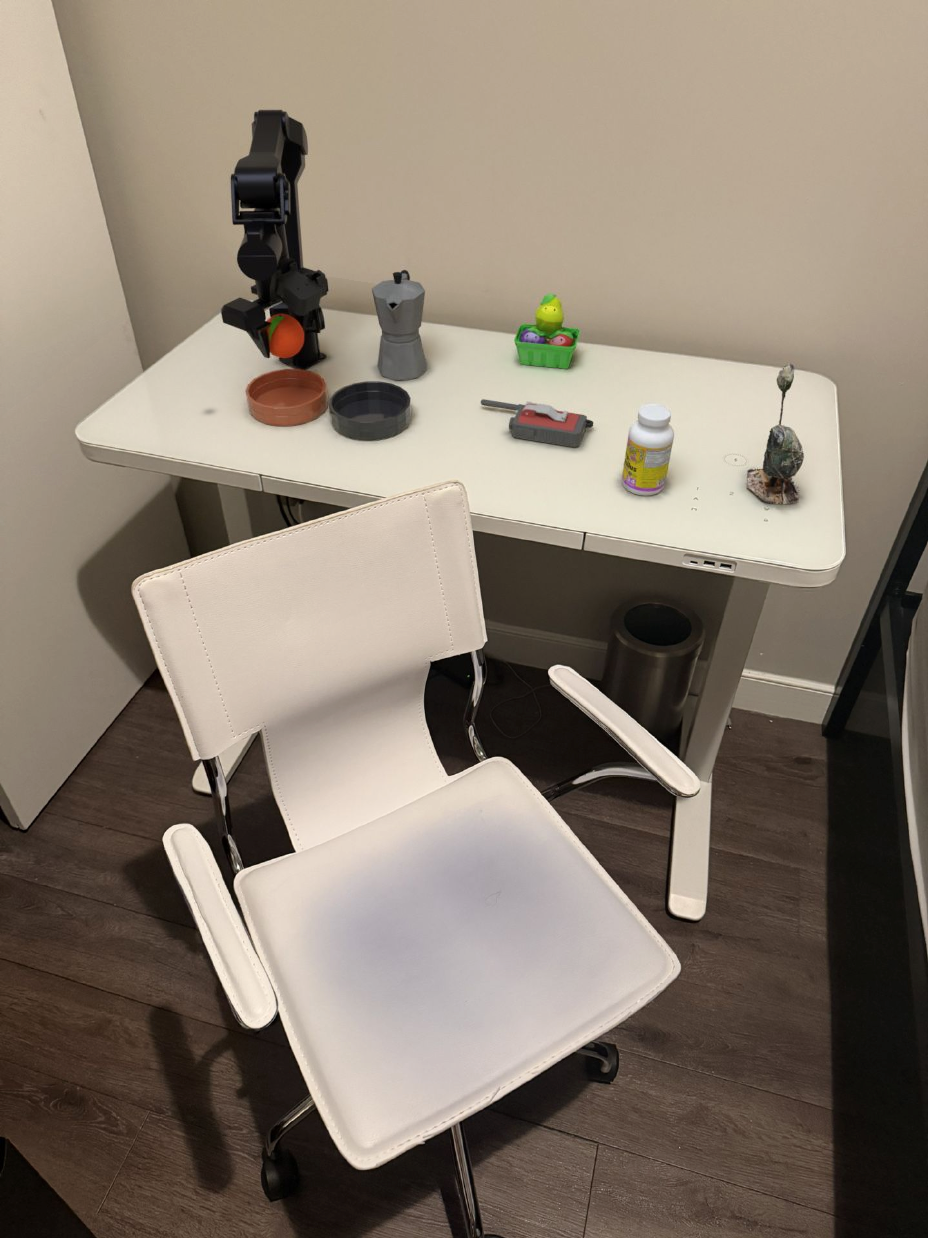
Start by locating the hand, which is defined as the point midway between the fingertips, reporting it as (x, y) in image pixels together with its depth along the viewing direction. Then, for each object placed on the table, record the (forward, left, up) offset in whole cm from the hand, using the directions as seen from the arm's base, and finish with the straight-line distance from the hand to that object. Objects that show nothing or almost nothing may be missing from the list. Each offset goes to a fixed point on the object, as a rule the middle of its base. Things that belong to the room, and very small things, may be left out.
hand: (283, 348), depth 147 cm
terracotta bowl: (0, 0, -11) cm, 11 cm away
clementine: (0, 0, -2) cm, 2 cm away
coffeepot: (-23, +7, -11) cm, 26 cm away
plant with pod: (-24, +77, -11) cm, 82 cm away
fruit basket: (-41, +27, -11) cm, 50 cm away
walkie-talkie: (-19, +38, -11) cm, 43 cm away
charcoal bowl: (-5, +14, -11) cm, 18 cm away
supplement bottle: (-15, +61, -11) cm, 63 cm away
